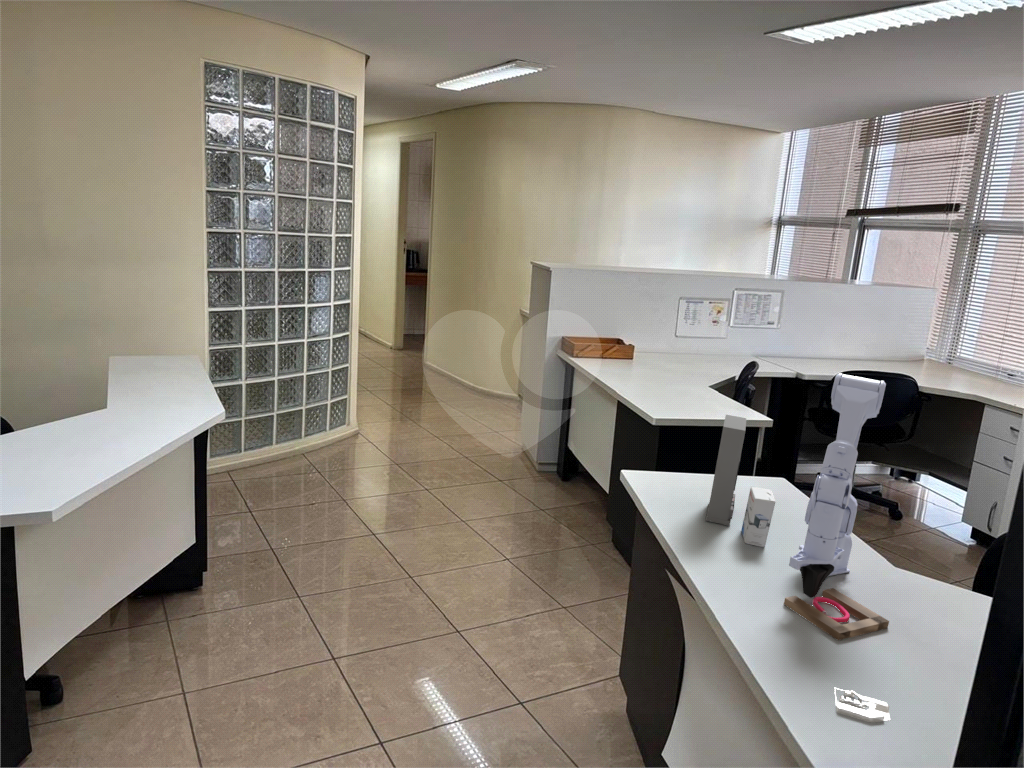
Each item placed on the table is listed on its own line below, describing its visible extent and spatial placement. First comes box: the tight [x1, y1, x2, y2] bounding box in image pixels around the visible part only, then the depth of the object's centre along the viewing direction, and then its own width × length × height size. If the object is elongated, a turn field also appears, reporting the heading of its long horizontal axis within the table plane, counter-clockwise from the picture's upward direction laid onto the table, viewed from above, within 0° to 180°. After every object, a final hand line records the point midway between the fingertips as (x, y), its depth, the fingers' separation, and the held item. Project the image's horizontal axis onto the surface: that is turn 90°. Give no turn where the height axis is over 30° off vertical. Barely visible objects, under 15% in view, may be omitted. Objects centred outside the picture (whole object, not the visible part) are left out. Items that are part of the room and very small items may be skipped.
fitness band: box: [811, 596, 851, 623], centre depth 143 cm, size 8×6×2 cm
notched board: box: [783, 587, 890, 641], centre depth 141 cm, size 14×13×2 cm
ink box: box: [741, 486, 776, 548], centre depth 173 cm, size 9×5×12 cm, turn 168°
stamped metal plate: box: [834, 687, 891, 723], centre depth 114 cm, size 8×7×2 cm
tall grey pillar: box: [705, 414, 747, 526], centre depth 184 cm, size 14×6×25 cm, turn 161°
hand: (809, 594), depth 147 cm, fingers closed
